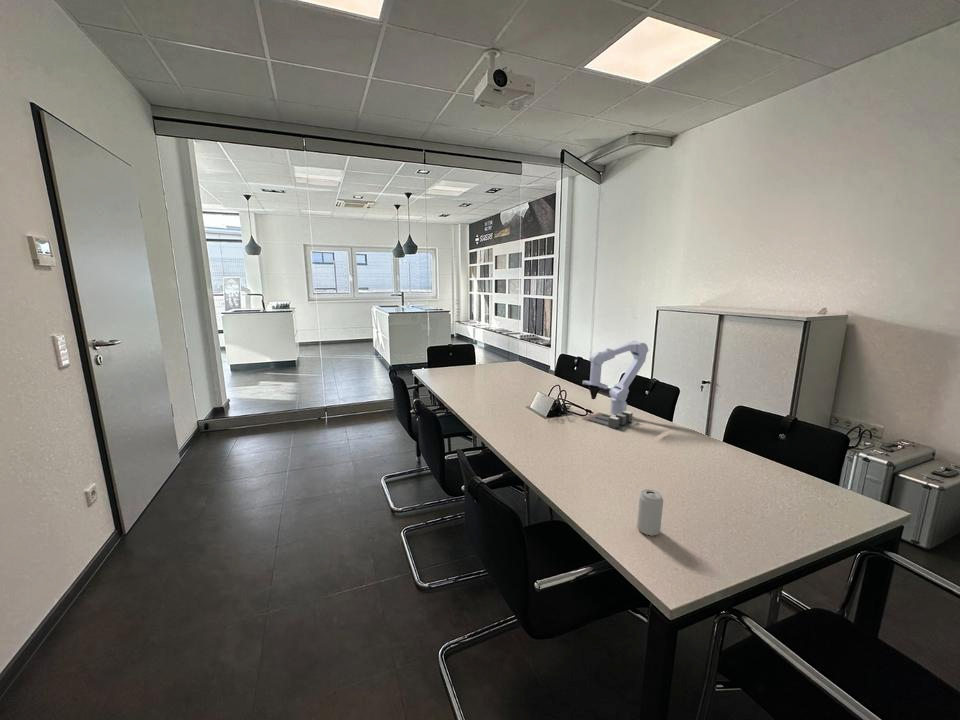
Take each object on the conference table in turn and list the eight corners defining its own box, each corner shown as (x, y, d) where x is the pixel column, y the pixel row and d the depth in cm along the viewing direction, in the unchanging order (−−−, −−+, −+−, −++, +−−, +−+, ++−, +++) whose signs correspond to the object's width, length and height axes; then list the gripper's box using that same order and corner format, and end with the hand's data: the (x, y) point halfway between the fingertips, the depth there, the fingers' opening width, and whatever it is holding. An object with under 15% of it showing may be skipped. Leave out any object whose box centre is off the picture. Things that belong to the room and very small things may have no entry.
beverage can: (653, 524, 121) (657, 488, 119) (664, 537, 115) (667, 499, 113) (633, 524, 121) (636, 488, 119) (642, 537, 115) (645, 499, 112)
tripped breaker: (618, 421, 209) (619, 413, 209) (625, 423, 206) (626, 415, 206) (615, 423, 207) (615, 414, 206) (622, 425, 204) (623, 416, 203)
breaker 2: (624, 418, 214) (625, 410, 213) (632, 420, 211) (632, 412, 210) (621, 420, 212) (622, 411, 211) (628, 422, 209) (629, 413, 208)
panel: (599, 415, 226) (599, 412, 226) (639, 425, 209) (639, 422, 209) (581, 421, 214) (581, 419, 214) (622, 433, 197) (623, 430, 197)
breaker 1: (611, 424, 205) (612, 415, 204) (619, 426, 202) (619, 417, 201) (608, 426, 202) (608, 417, 202) (615, 428, 199) (616, 419, 199)
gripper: (580, 373, 222) (578, 397, 224) (603, 378, 211) (601, 402, 214) (587, 372, 226) (585, 395, 229) (610, 376, 216) (608, 400, 218)
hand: (593, 398), depth 222 cm, fingers closed
